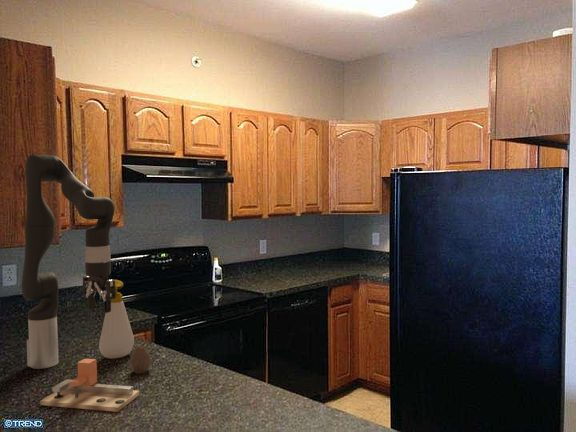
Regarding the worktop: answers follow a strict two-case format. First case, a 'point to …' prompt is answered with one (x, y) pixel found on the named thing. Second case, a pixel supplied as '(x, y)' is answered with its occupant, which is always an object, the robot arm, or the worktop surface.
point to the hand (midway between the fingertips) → (99, 310)
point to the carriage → (85, 374)
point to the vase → (140, 360)
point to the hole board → (89, 400)
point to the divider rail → (94, 388)
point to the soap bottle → (116, 329)
